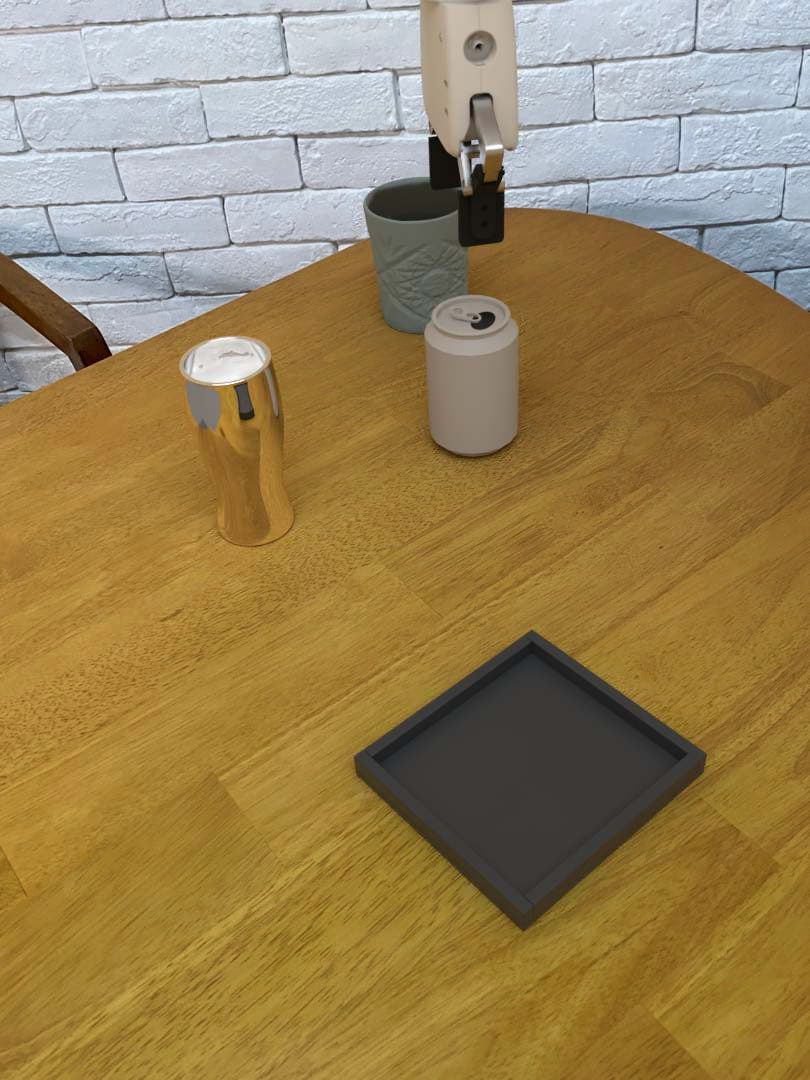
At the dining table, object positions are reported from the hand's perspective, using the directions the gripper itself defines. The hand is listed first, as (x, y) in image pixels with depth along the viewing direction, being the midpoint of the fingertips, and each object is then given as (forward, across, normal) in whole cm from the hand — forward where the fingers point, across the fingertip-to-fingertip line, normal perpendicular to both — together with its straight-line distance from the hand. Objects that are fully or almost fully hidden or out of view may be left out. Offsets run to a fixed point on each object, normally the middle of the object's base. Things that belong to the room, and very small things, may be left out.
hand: (465, 213), depth 83 cm
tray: (+20, -36, +5) cm, 41 cm away
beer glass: (+20, -7, +19) cm, 29 cm away
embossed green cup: (+20, +22, 0) cm, 30 cm away
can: (+20, 0, 0) cm, 20 cm away
